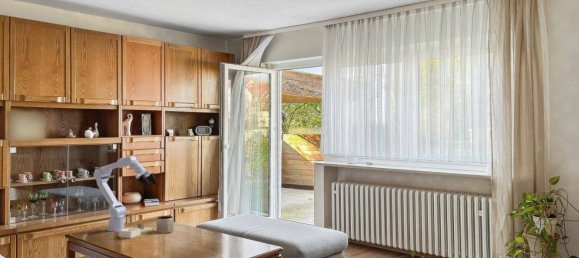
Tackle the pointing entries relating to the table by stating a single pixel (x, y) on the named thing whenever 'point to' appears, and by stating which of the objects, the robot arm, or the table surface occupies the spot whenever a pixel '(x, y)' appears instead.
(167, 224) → the planter
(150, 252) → the table surface
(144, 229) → the lid
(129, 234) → the beige bevelled block
